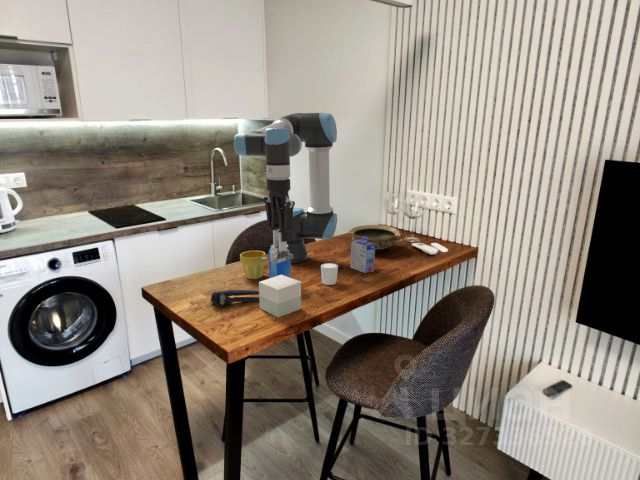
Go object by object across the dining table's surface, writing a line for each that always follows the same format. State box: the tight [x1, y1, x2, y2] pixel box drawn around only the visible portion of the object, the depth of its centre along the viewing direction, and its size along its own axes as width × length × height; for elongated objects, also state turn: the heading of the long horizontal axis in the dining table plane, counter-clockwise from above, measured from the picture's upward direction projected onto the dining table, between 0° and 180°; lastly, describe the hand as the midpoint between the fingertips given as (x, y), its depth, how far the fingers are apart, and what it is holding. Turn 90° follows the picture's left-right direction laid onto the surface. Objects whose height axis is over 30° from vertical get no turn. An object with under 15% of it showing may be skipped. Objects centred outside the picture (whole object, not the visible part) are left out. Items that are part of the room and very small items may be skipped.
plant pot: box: [239, 250, 267, 280], centre depth 176 cm, size 10×10×10 cm
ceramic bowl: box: [347, 224, 403, 253], centre depth 212 cm, size 30×24×10 cm
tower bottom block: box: [259, 295, 302, 318], centre depth 146 cm, size 10×10×5 cm
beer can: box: [268, 244, 292, 279], centre depth 166 cm, size 8×8×16 cm
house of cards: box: [262, 239, 293, 263], centre depth 144 cm, size 9×9×8 cm
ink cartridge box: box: [349, 236, 376, 274], centre depth 184 cm, size 10×6×14 cm, turn 38°
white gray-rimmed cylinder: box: [320, 262, 339, 286], centre depth 170 cm, size 7×7×7 cm
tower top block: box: [258, 275, 302, 304], centre depth 145 cm, size 10×10×5 cm
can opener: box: [210, 288, 260, 307], centre depth 151 cm, size 18×7×6 cm, turn 106°
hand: (280, 249), depth 142 cm, fingers closed on house of cards, 2 cm apart
